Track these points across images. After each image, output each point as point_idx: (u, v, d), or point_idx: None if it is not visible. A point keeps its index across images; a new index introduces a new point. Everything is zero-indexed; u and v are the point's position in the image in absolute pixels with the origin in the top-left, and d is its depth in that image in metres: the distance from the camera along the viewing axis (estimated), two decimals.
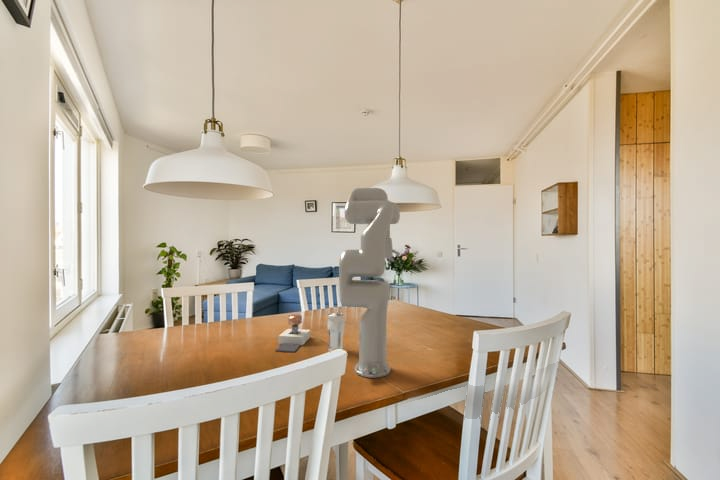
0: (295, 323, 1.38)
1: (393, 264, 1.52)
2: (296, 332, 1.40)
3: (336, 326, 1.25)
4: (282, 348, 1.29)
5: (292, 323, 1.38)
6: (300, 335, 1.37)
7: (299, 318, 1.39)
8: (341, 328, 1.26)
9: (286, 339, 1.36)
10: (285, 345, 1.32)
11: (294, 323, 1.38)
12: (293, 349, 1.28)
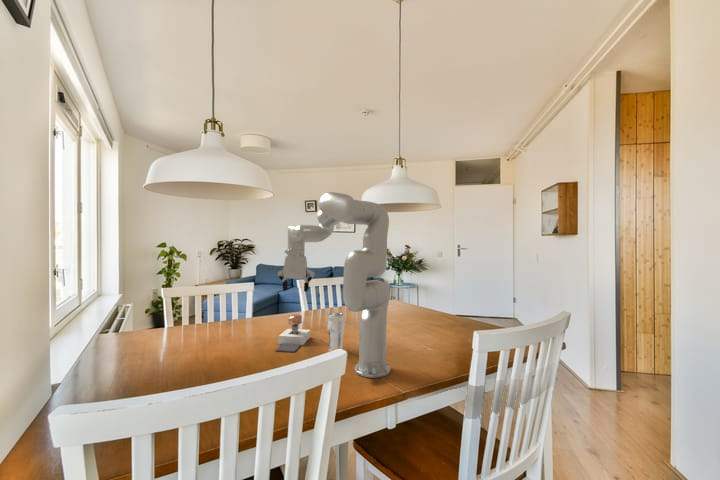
0: (295, 323, 1.38)
1: (307, 285, 1.39)
2: (296, 332, 1.40)
3: (336, 326, 1.25)
4: (282, 348, 1.29)
5: (292, 323, 1.38)
6: (300, 335, 1.37)
7: (299, 318, 1.39)
8: (341, 328, 1.26)
9: (286, 339, 1.36)
10: (285, 345, 1.32)
11: (294, 323, 1.38)
12: (293, 349, 1.28)
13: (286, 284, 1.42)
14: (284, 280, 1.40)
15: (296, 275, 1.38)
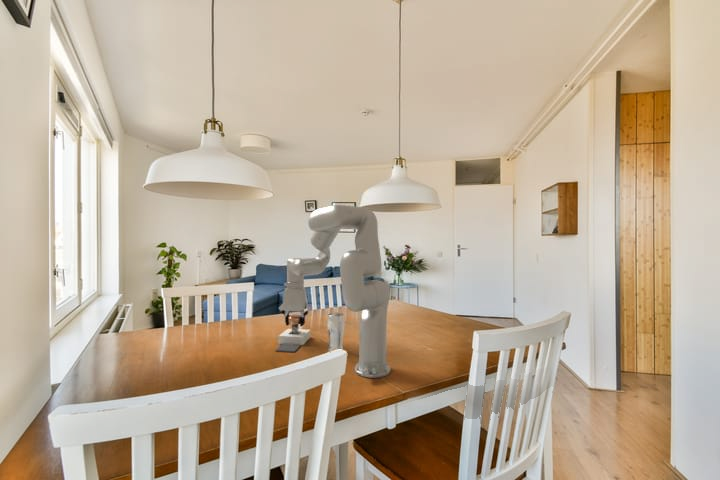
0: (295, 323, 1.38)
1: (303, 320, 1.40)
2: (296, 332, 1.40)
3: (336, 326, 1.25)
4: (282, 348, 1.29)
5: (292, 323, 1.38)
6: (300, 335, 1.37)
7: (299, 318, 1.39)
8: (341, 328, 1.26)
9: (286, 339, 1.36)
10: (285, 345, 1.32)
11: (294, 323, 1.38)
12: (293, 349, 1.28)
13: None
14: (286, 314, 1.40)
15: (295, 308, 1.38)
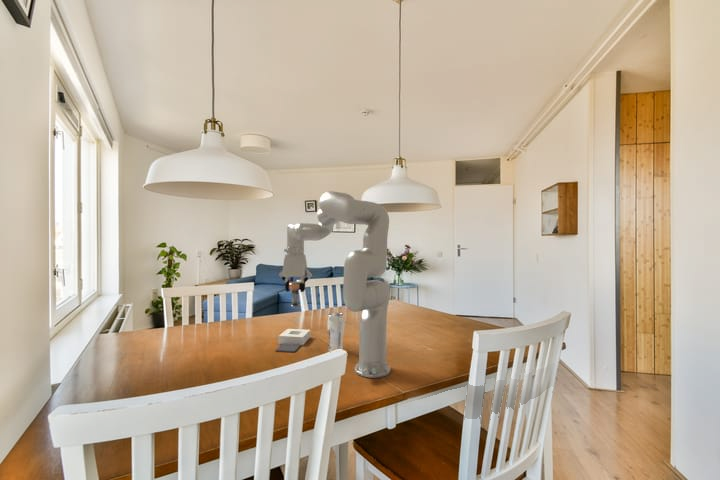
0: (295, 289, 1.38)
1: (303, 286, 1.39)
2: (296, 298, 1.40)
3: (336, 326, 1.25)
4: (282, 348, 1.29)
5: (292, 289, 1.38)
6: (300, 335, 1.37)
7: (299, 284, 1.39)
8: (341, 328, 1.26)
9: (286, 339, 1.36)
10: (285, 345, 1.32)
11: (294, 289, 1.38)
12: (293, 349, 1.28)
13: None
14: (287, 280, 1.40)
15: (295, 273, 1.38)
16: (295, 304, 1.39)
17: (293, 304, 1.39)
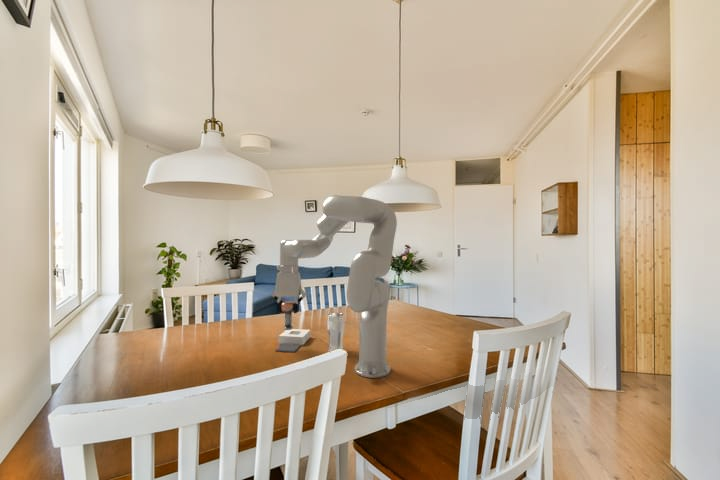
0: (288, 310, 1.28)
1: (297, 306, 1.29)
2: (289, 320, 1.30)
3: (336, 326, 1.25)
4: (282, 348, 1.29)
5: (285, 310, 1.28)
6: (300, 335, 1.37)
7: (293, 304, 1.29)
8: (341, 328, 1.26)
9: (286, 339, 1.36)
10: (285, 345, 1.32)
11: (287, 310, 1.28)
12: (293, 349, 1.28)
13: None
14: (279, 300, 1.30)
15: (289, 294, 1.27)
16: (288, 326, 1.29)
17: (286, 326, 1.29)
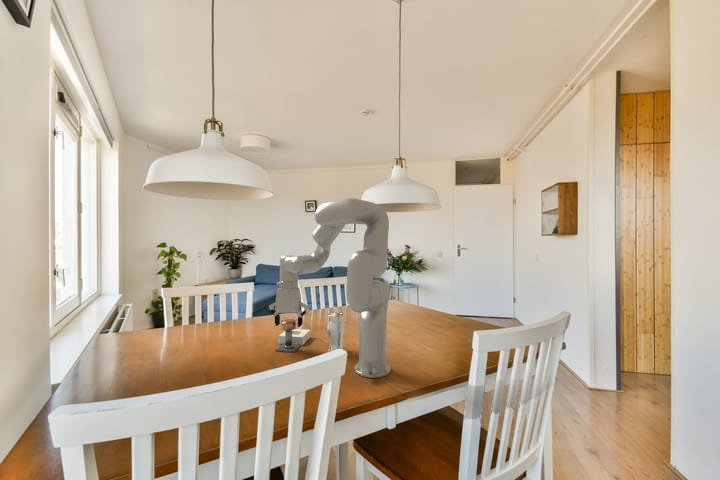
0: (289, 329, 1.27)
1: (301, 320, 1.29)
2: (290, 338, 1.29)
3: (336, 326, 1.25)
4: (282, 348, 1.29)
5: (285, 329, 1.27)
6: (300, 335, 1.37)
7: (293, 323, 1.28)
8: (341, 328, 1.26)
9: None
10: None
11: (287, 329, 1.27)
12: (293, 349, 1.28)
13: (278, 318, 1.31)
14: (276, 314, 1.30)
15: (289, 309, 1.27)
16: (288, 345, 1.29)
17: (286, 345, 1.29)
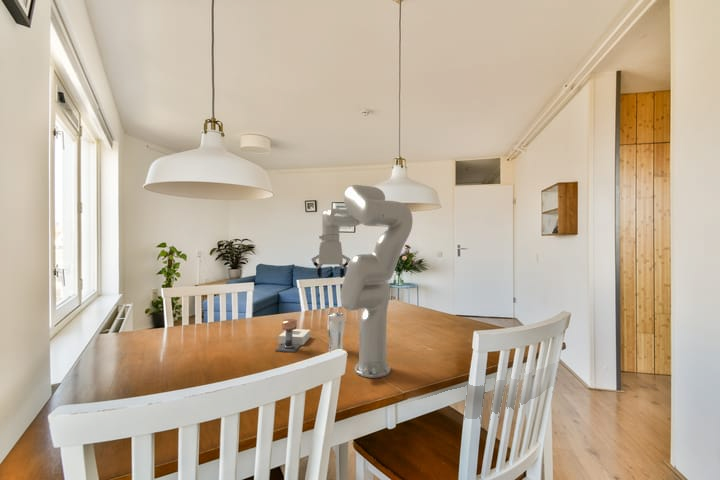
0: (289, 329, 1.27)
1: (343, 271, 1.36)
2: (290, 338, 1.29)
3: (336, 326, 1.25)
4: (282, 348, 1.29)
5: (286, 329, 1.27)
6: (300, 335, 1.37)
7: (294, 323, 1.28)
8: (341, 328, 1.26)
9: None
10: None
11: (288, 329, 1.27)
12: (293, 349, 1.28)
13: (321, 271, 1.38)
14: (319, 266, 1.37)
15: (332, 261, 1.35)
16: (289, 345, 1.29)
17: (286, 345, 1.29)
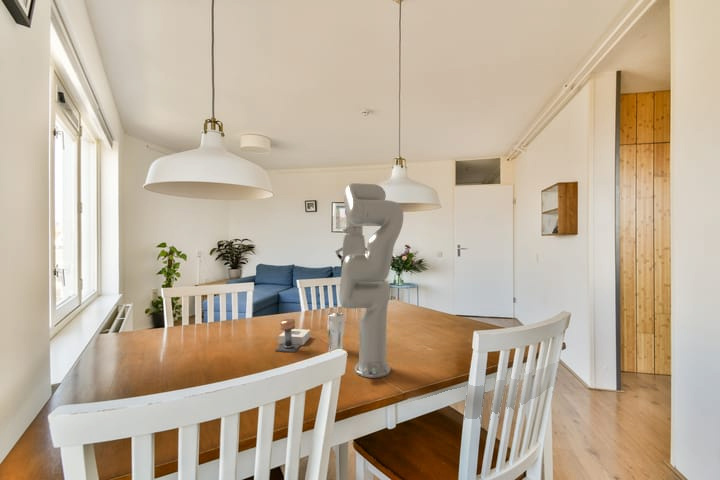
0: (288, 328, 1.27)
1: None
2: (289, 338, 1.29)
3: (336, 326, 1.25)
4: (282, 348, 1.29)
5: (285, 329, 1.27)
6: (300, 335, 1.37)
7: (292, 323, 1.28)
8: (341, 328, 1.26)
9: None
10: None
11: (287, 329, 1.27)
12: (293, 349, 1.28)
13: None
14: (343, 258, 1.42)
15: (356, 253, 1.40)
16: (288, 344, 1.29)
17: (286, 345, 1.29)
